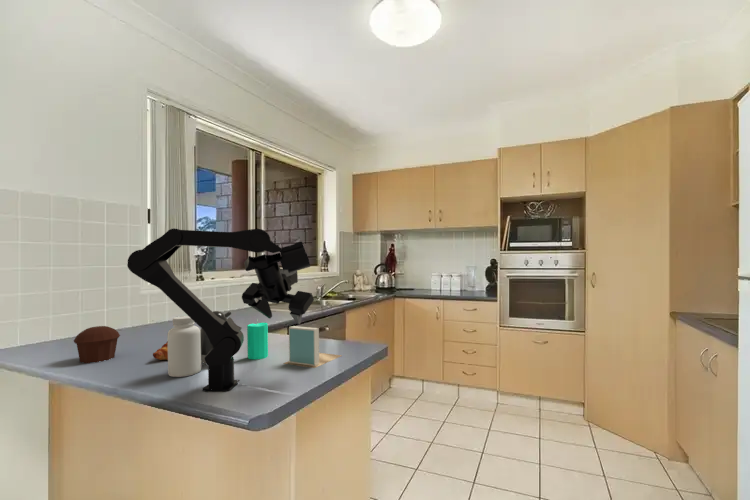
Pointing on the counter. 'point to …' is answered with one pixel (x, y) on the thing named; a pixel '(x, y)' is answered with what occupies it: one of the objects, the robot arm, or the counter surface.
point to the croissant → (162, 352)
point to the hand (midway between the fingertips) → (284, 320)
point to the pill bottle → (184, 348)
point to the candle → (257, 340)
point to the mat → (322, 360)
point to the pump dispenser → (205, 342)
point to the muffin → (96, 344)
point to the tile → (304, 345)
